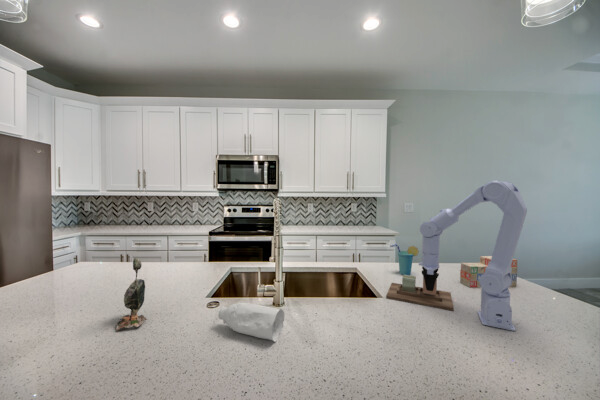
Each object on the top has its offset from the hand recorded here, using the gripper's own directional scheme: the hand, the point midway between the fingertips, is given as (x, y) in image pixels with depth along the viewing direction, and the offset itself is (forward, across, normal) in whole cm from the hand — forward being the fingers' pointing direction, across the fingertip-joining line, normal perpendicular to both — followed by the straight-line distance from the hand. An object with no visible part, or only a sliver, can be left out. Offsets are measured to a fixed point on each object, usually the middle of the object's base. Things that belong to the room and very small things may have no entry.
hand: (429, 288), depth 96 cm
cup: (+4, -27, -12) cm, 30 cm away
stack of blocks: (+4, -29, +23) cm, 37 cm away
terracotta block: (+2, 0, 0) cm, 2 cm away
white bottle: (+4, +52, -44) cm, 69 cm away
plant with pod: (+4, +64, -80) cm, 102 cm away
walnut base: (+4, 0, -4) cm, 5 cm away
